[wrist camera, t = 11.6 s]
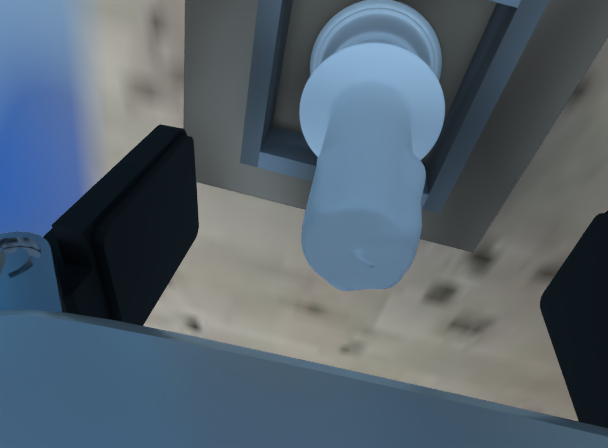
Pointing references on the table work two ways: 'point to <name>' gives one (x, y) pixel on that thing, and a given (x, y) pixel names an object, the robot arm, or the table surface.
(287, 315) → the table surface
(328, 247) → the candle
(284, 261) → the table surface
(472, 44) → the keeper board
